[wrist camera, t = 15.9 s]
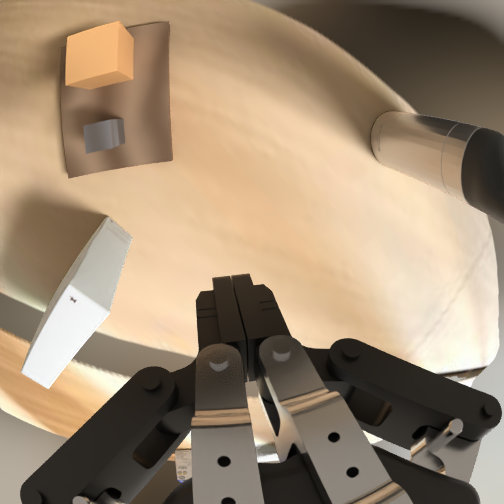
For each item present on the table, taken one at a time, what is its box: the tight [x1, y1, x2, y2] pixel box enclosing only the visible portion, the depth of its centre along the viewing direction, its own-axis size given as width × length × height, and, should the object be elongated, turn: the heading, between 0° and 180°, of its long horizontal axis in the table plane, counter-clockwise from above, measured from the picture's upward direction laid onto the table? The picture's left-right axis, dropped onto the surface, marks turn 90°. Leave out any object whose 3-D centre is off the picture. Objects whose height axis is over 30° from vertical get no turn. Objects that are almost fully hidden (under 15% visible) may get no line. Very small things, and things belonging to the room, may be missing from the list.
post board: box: [60, 21, 173, 178], centre depth 22 cm, size 14×18×7 cm
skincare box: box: [21, 216, 133, 389], centre depth 29 cm, size 21×5×16 cm, turn 131°
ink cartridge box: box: [175, 450, 192, 483], centre depth 66 cm, size 10×6×14 cm, turn 92°
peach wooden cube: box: [65, 21, 134, 90], centre depth 19 cm, size 6×6×7 cm
